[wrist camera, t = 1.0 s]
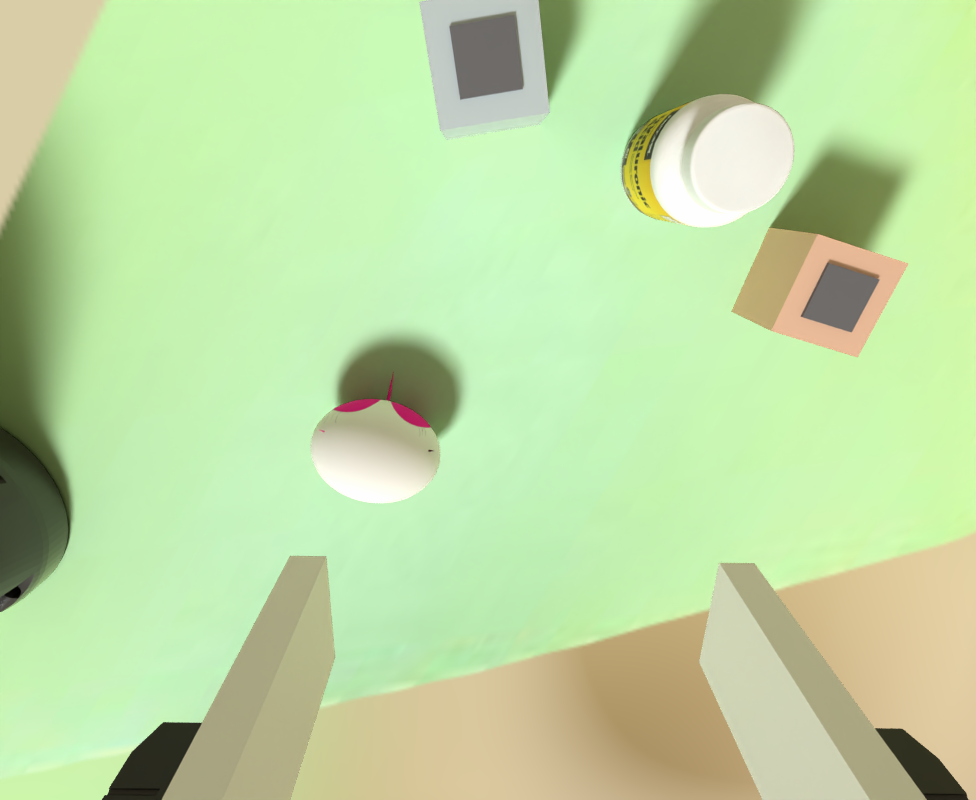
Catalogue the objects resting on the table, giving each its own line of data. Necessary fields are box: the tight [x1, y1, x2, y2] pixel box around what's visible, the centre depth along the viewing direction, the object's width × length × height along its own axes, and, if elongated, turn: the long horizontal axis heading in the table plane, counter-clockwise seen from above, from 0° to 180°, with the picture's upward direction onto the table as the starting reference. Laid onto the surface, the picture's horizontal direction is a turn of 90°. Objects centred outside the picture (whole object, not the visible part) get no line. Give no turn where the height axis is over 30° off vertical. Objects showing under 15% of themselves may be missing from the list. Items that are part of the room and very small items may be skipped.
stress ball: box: [311, 372, 440, 503], centre depth 34 cm, size 8×8×7 cm
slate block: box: [420, 0, 550, 140], centre depth 27 cm, size 5×5×5 cm
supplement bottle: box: [621, 94, 794, 227], centre depth 26 cm, size 5×5×10 cm
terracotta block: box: [732, 228, 908, 357], centre depth 31 cm, size 5×5×5 cm
